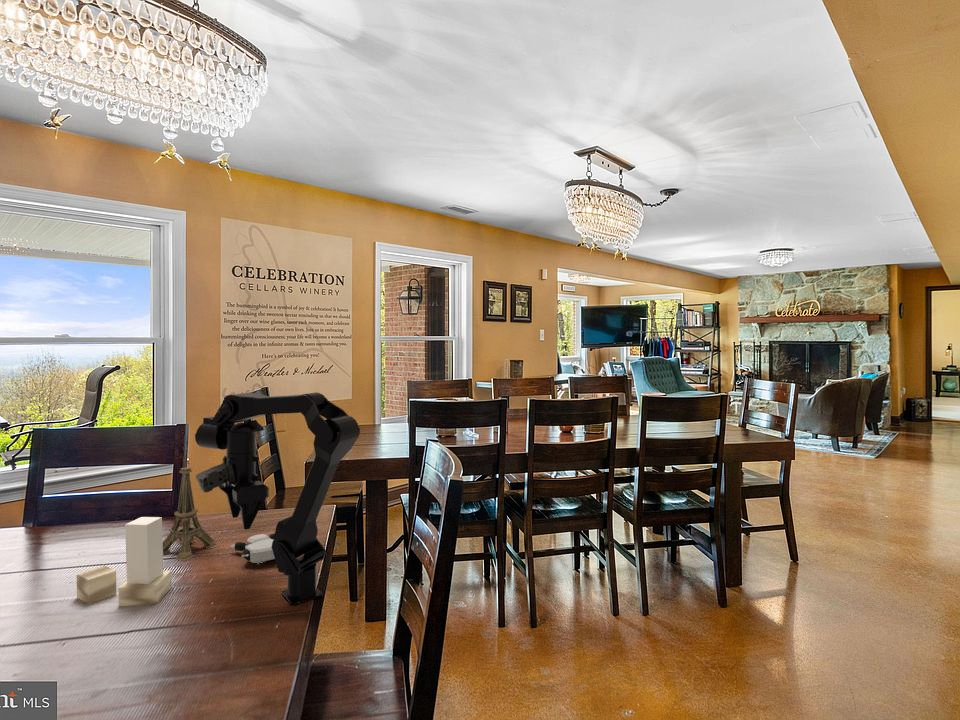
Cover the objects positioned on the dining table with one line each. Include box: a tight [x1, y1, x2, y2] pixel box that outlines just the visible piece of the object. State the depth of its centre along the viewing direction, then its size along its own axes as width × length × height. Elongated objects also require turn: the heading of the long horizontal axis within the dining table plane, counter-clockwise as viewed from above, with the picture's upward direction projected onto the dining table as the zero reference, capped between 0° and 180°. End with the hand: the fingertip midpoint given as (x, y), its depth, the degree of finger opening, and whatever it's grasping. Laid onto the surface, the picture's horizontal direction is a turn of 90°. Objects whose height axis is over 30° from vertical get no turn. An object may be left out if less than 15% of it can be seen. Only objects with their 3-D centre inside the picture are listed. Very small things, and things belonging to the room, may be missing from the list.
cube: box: [76, 565, 117, 605], centre depth 107 cm, size 5×5×5 cm
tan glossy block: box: [117, 570, 173, 607], centre depth 107 cm, size 7×7×4 cm
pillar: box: [124, 516, 164, 584], centre depth 107 cm, size 4×4×12 cm
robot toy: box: [230, 533, 275, 565], centre depth 128 cm, size 12×4×15 cm
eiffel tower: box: [163, 451, 218, 562], centre depth 131 cm, size 11×11×25 cm
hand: (240, 523), depth 113 cm, fingers open, 9 cm apart
